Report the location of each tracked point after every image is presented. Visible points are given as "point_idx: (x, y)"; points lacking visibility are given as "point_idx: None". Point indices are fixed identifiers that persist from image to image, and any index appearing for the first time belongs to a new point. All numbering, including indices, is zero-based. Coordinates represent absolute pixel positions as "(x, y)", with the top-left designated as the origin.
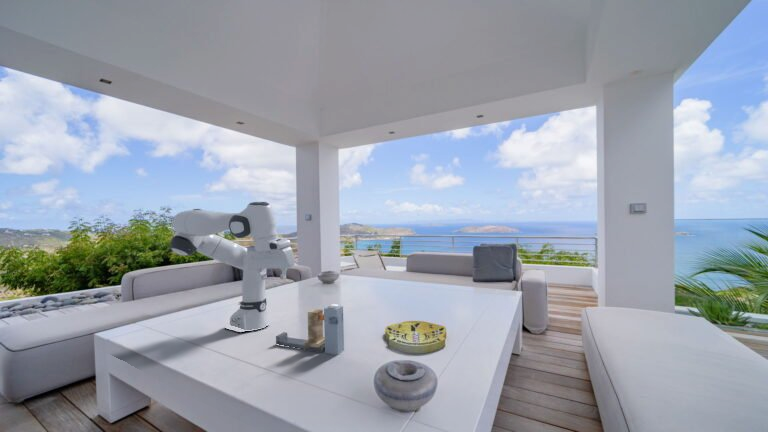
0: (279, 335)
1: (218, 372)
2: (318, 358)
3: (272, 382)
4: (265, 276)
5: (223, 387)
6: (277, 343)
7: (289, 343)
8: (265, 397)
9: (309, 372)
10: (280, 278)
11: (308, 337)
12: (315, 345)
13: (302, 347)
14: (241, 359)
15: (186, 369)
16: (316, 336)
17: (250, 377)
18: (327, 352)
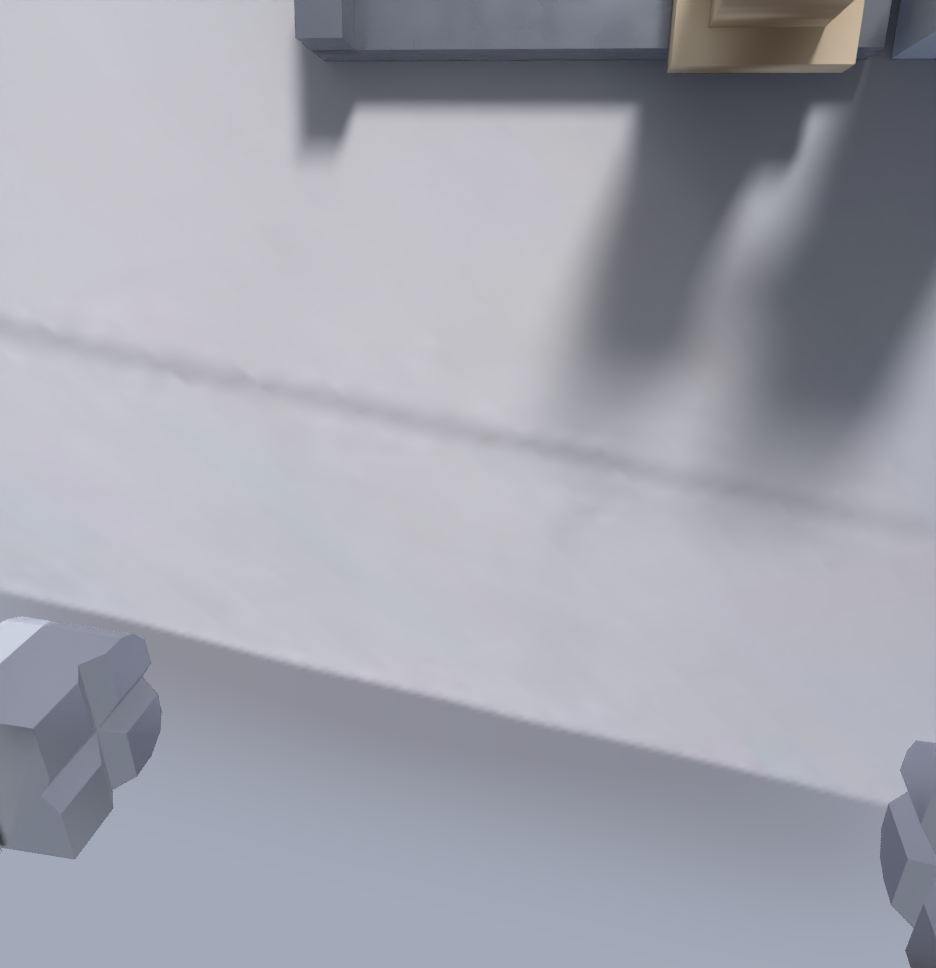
0: (314, 3)
1: (279, 563)
2: (874, 180)
3: (716, 582)
4: (95, 736)
5: (462, 686)
6: (334, 55)
7: (474, 51)
8: (779, 715)
9: (908, 412)
10: (894, 888)
11: (718, 16)
12: (815, 70)
13: (629, 54)
14: (262, 377)
15: (58, 580)
16: (835, 8)
17: (530, 566)
18: (923, 55)
